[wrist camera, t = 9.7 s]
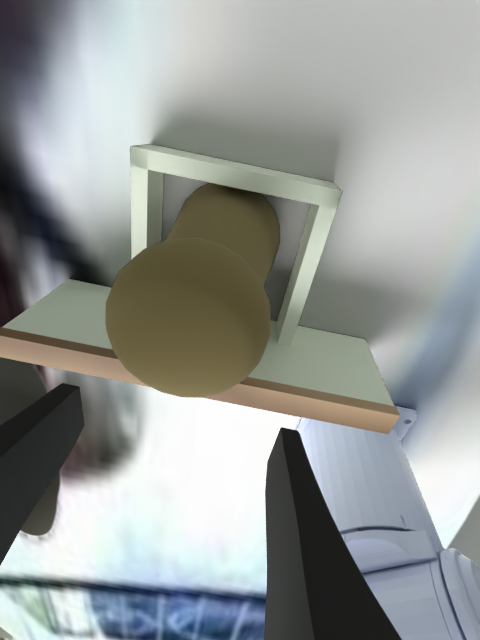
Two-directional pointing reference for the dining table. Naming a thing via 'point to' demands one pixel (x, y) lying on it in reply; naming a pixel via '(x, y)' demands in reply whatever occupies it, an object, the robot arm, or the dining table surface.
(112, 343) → the cork
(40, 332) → the stand
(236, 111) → the dining table surface
